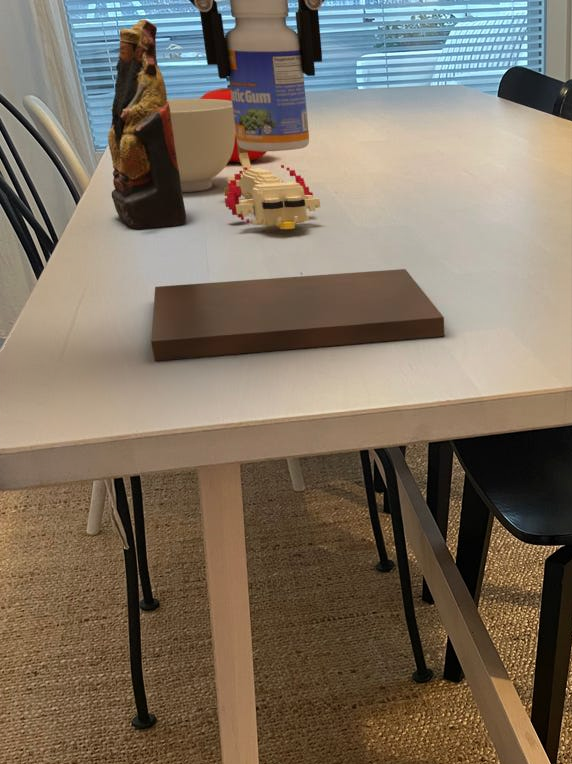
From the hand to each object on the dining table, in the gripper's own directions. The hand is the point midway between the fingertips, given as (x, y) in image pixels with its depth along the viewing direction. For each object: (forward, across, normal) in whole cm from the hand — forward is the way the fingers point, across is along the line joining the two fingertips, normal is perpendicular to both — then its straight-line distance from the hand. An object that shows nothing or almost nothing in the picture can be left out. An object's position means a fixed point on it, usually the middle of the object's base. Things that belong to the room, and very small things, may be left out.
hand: (266, 72), depth 71 cm
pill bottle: (+5, 0, 0) cm, 5 cm away
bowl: (+18, +8, -67) cm, 70 cm away
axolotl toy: (+18, -1, -44) cm, 48 cm away
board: (+18, 0, 0) cm, 18 cm away
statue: (+18, +12, -45) cm, 50 cm away
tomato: (+18, 0, -90) cm, 92 cm away
